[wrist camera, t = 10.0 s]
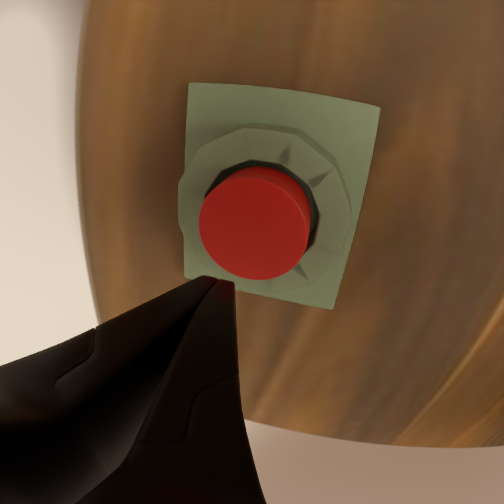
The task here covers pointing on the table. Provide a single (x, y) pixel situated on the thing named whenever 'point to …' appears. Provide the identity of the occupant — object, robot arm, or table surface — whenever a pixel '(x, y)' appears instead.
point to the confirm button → (256, 223)
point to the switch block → (287, 161)
